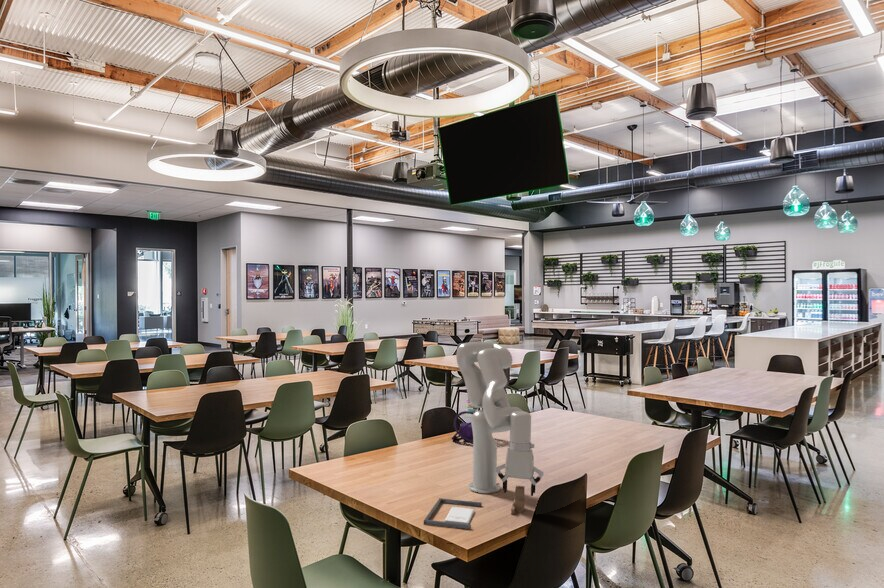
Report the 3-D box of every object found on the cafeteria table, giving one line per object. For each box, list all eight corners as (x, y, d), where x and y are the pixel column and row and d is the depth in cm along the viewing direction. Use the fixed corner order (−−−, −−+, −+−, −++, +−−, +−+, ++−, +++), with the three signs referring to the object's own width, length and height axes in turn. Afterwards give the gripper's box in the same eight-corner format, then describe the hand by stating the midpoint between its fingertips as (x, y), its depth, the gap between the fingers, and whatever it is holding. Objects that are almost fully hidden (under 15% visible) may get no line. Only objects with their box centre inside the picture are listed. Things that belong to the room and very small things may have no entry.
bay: (439, 501, 203) (439, 498, 203) (481, 505, 199) (481, 502, 199) (423, 524, 182) (423, 520, 182) (470, 529, 178) (470, 525, 178)
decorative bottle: (462, 434, 310) (462, 390, 311) (496, 438, 300) (496, 393, 301) (443, 442, 291) (444, 395, 291) (479, 447, 281) (480, 399, 281)
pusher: (514, 503, 202) (514, 482, 202) (525, 504, 201) (525, 483, 201) (511, 514, 191) (511, 491, 191) (522, 515, 190) (522, 493, 190)
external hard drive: (474, 513, 193) (467, 527, 181) (451, 511, 195) (444, 524, 183) (474, 509, 193) (467, 522, 181) (451, 506, 195) (444, 519, 183)
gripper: (544, 445, 198) (543, 492, 198) (497, 441, 202) (496, 487, 202) (543, 451, 191) (542, 499, 191) (494, 446, 195) (493, 494, 195)
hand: (518, 493), depth 196 cm, fingers open, 9 cm apart
